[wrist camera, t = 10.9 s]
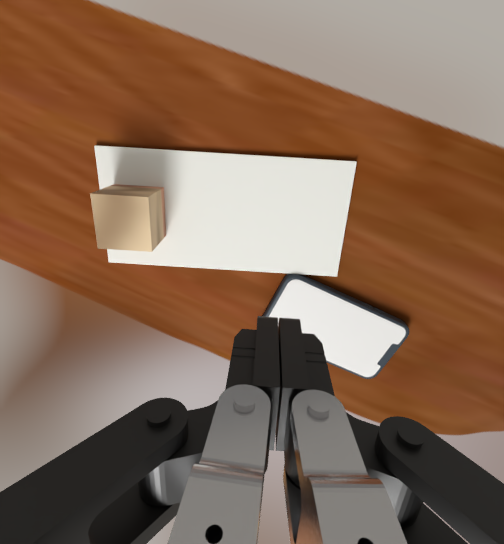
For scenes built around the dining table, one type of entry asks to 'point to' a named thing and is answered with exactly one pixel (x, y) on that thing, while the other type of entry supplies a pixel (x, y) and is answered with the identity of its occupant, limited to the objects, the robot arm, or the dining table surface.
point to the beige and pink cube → (129, 217)
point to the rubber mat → (238, 208)
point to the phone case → (340, 324)
